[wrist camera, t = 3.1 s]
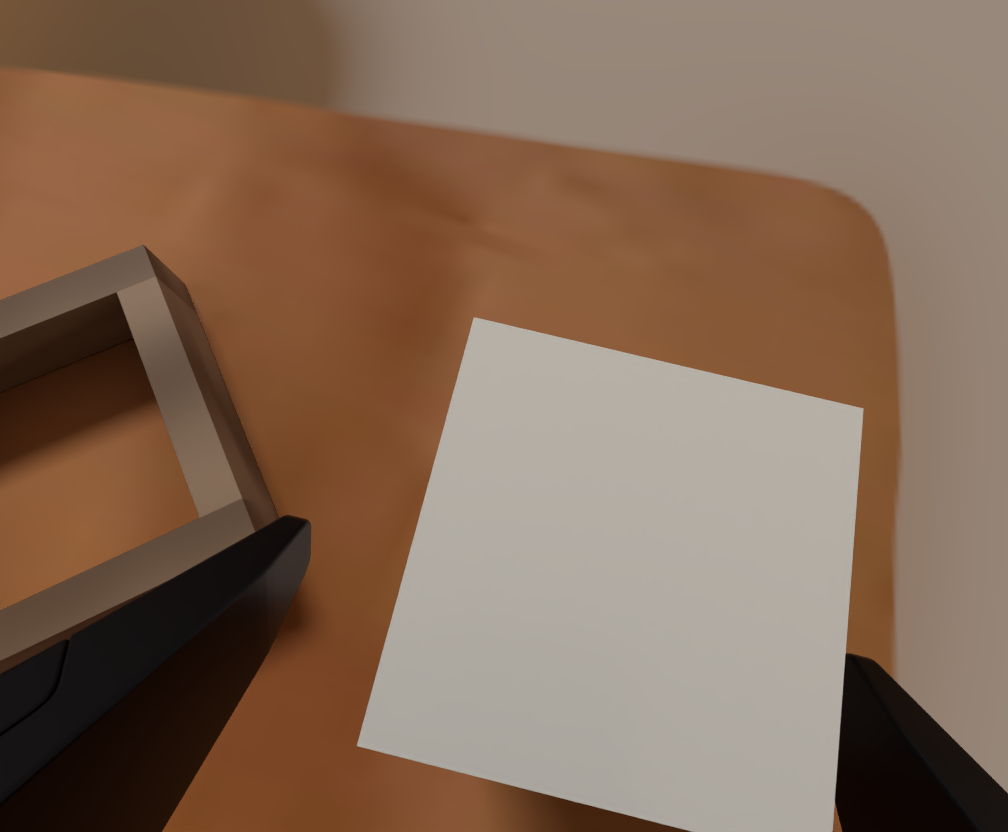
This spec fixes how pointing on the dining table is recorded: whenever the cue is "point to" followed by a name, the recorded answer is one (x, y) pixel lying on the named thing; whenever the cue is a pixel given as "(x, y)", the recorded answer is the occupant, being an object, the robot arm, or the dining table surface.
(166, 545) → the rectangular frame
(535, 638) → the clay block
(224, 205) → the dining table surface
